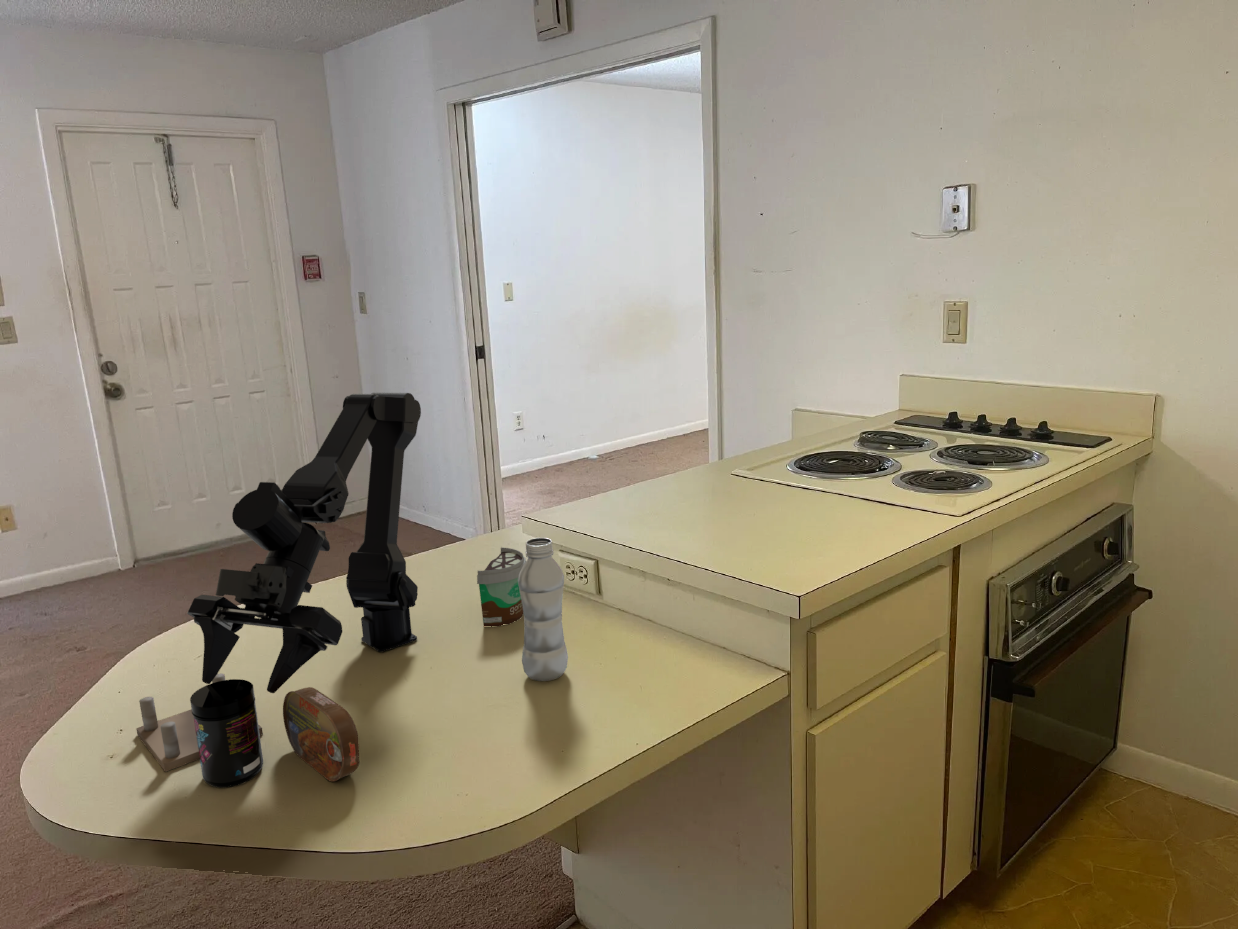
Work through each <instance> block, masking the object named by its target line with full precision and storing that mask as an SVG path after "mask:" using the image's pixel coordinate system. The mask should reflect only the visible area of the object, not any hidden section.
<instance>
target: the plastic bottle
mask: <svg viewBox="0 0 1238 929" xmlns="http://www.w3.org/2000/svg"><path fill="white" fill-rule="evenodd" d="M554 553H555V552H554V549H553V540H552V539H551V538H548V537H533V538H529V539H528V540H526V542H525V558H526V557H527V559H526V562H525V564H524V565H523V567H522V569H521V571H520V573H519V577H518V585H519V590H520V595H521V600H522V605H523V622H524V623H523V624H524V626H523V627H524V629H523V630H524V631H523V632H524V634H523V647H522V656H521V664H522V668H523V672H524V673H525V675H526V676H527V677H528V678H529V679H531V680H533V681H537V682H548V681H553V680H556V679H559V678H560V677H561V676H562V675H564V673H565V672H566V669H567V668H568V660H569V656H568V655H569V654H568V648H567V645H566V642H565V635H564V634H565V633H564V628H563V627H564V626H563V614H562V613H563V596H564V595H563V594H564V584H565V574H564V572H563V569H562V568H561V566H560V565H559V563H558V562H557V561H556V559H555V558H553V555H554Z"/></svg>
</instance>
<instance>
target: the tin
mask: <svg viewBox="0 0 1238 929" xmlns="http://www.w3.org/2000/svg"><path fill="white" fill-rule="evenodd" d="M282 717H283V724H284V729H285V732H286V735H287V738H288V741H289V744H290V747H291V748H292V750H293V751H294V753H295V755H297V756H298V757H299V758H300V759H301V760H302V761H304V762H305V763H306V764H308V766H310V767H311V768H312V769H314V770H315V771H316V772H317V773H318V774H320V775H321V776H322V777H323V778H324V779H326V780H328V782H337V781H338V780H340V779H343V778H345V777H347V776H350V775H351V774H354V772H356V771H357V770H358V768H359V766H360V763H361V762H360V743H359V740H360V739H359V733H358V729H357V726H356V724H355V722H354V720H353V717H352V715H351V714H350V713H349V712H348V710H347V709H346V708H345V707H343V706H342V705H340V704H339V703H337V702H336V701H334V700H333V699H332V698H331V697H329V696H327V695H326V694H324V693H322V692H321V691H320V690H319V689H316V688H314V687H311V686H308V687H304V688H301V689H297V690H291V691H289V692H287V693H286V694H285V696H284V698H283V704H282Z"/></svg>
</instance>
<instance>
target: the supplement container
mask: <svg viewBox="0 0 1238 929" xmlns="http://www.w3.org/2000/svg"><path fill="white" fill-rule="evenodd" d="M189 701H190V708H191V709H192V715H193V720H194V726H195V732H196V739H197V745H198V751H199V757H200V759H199V764H200V770H201V777H202V779H203V781H204V782H205V783H206V784H207V785H209V786H211V787H213V788H219V789H220V788H221V789H222V788H224V789H225V788H232V787H235V786H239V785H242V784H245V783H247V782H249V781H251V780H252V779H254V778H255V777H256V776H258V774H259V773H260V771H261V770H262V768H263V765H264V755H263V749H262V742H261V736H260V733H259V726H258V724H259V721H258V715H257V714H258V712H257V707H256V697H255V690H254V684H253V683H252V682H250V681H248V680H245V679H238V678H236V679H235V678H234V679H231V678H230V679H225V680H223V681H218V682H215V683H212V682H211V683H210V684H206V685H204V686H201V688H199V689H197V690H196V691H195V692H193V693H192V694H191V696H190V698H189ZM191 709H190V710H191Z"/></svg>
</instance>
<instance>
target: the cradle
mask: <svg viewBox="0 0 1238 929" xmlns="http://www.w3.org/2000/svg"><path fill="white" fill-rule="evenodd" d="M223 680H226V675H225V673H218V674H217V675H216V676H215V678H214V679H213V680H212V682H211V684H212V683H215V682H218V681H223ZM138 702H139V707H140V712H141V713H140V714H141V718H142V726H139V727H136V728H135V729H136V734H137V737H139V738H138V739H140V741H141V742H142V743H143V744H144V746H145V747H146V749H147V750H148V751H149V753H151V755H152V756H153V758H154V759H155V760H156V761H157V763H158V764H159V766H160V767H161V769H163V771H164V772H165V773H166V772H168V771H171V770H173V769H176V768H180V767H182V766H184V765H187V764H189V763H192V762H194V761H198V760H200V757H199V751H198V745H197V739H196V732H195V726H194V720H193V715H192V709H188V710H185V711H182V712H180V713H177V714H176V713H175V714H174V715H171V716H168V717H165V718H162V719H159V720H158V717H157V711H156V705H155V699H154V697H153V696H144V697H143V698H141V699H139V701H138ZM258 726H259V733H260V737H261V736H263V734H264V732H263V727H262V726H261V725H260V724H259V723H258Z"/></svg>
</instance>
